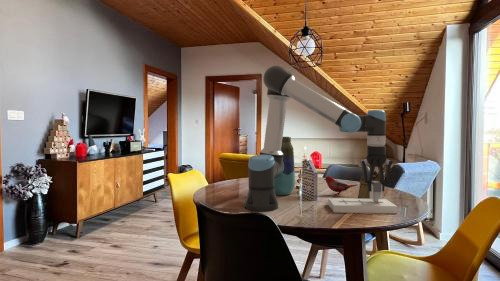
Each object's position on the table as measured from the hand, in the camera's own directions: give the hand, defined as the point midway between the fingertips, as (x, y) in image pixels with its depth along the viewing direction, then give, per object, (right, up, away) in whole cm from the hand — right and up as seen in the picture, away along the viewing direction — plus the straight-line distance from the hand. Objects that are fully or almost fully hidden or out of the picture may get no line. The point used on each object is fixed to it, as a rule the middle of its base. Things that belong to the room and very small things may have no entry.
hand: (375, 198), depth 140 cm
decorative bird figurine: (-7, -4, +30) cm, 31 cm away
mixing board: (-6, -5, +1) cm, 8 cm away
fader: (0, -2, 0) cm, 2 cm away
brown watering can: (+5, -4, +18) cm, 19 cm away
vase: (-38, -4, +34) cm, 51 cm away
